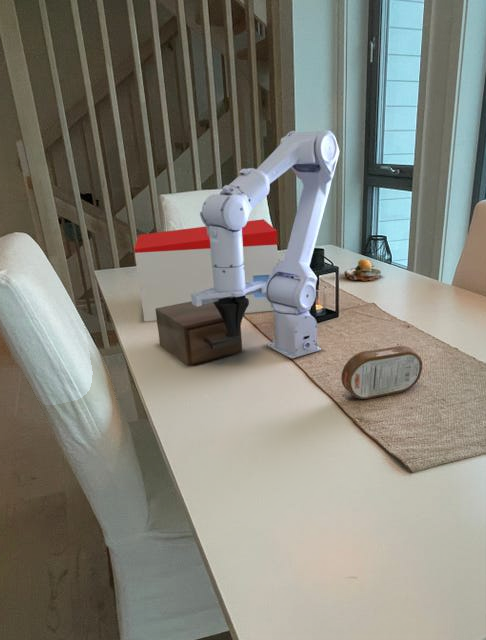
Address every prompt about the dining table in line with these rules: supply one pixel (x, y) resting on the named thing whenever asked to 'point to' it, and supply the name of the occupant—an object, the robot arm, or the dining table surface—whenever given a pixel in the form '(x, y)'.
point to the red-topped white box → (198, 265)
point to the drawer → (211, 342)
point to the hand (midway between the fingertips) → (233, 335)
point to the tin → (381, 372)
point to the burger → (363, 271)
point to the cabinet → (184, 327)
